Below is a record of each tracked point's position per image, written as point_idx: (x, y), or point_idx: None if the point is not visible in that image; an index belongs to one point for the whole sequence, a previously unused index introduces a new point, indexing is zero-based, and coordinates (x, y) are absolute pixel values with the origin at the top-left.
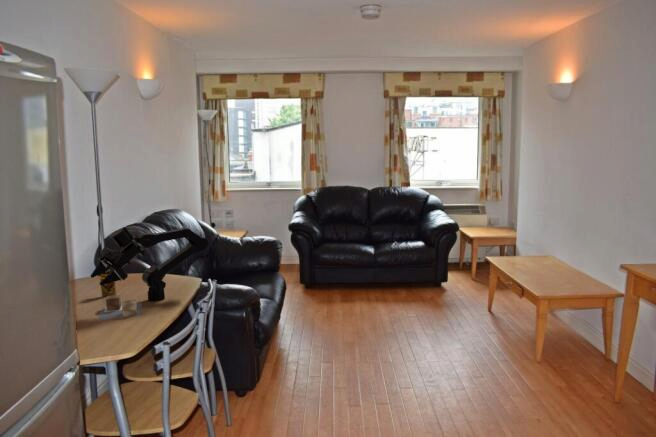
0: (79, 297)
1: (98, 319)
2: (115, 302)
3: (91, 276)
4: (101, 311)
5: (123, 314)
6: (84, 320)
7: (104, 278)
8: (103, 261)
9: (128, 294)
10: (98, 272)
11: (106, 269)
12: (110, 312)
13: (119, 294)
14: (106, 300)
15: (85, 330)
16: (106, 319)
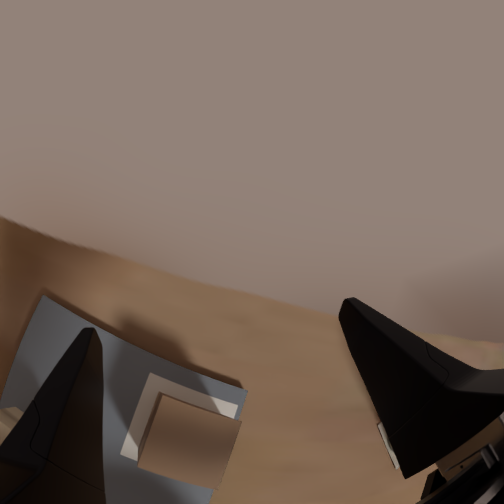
0: (430, 334)
1: (52, 307)
2: (143, 440)
3: (344, 308)
4: (172, 367)
5: (11, 409)
6: (121, 270)
7: (62, 385)
8: (497, 444)
9: (380, 494)
10: (382, 382)
11: (410, 465)
12: (119, 395)
13: (396, 464)
14: (160, 397)
15: (3, 229)
16: (25, 332)
